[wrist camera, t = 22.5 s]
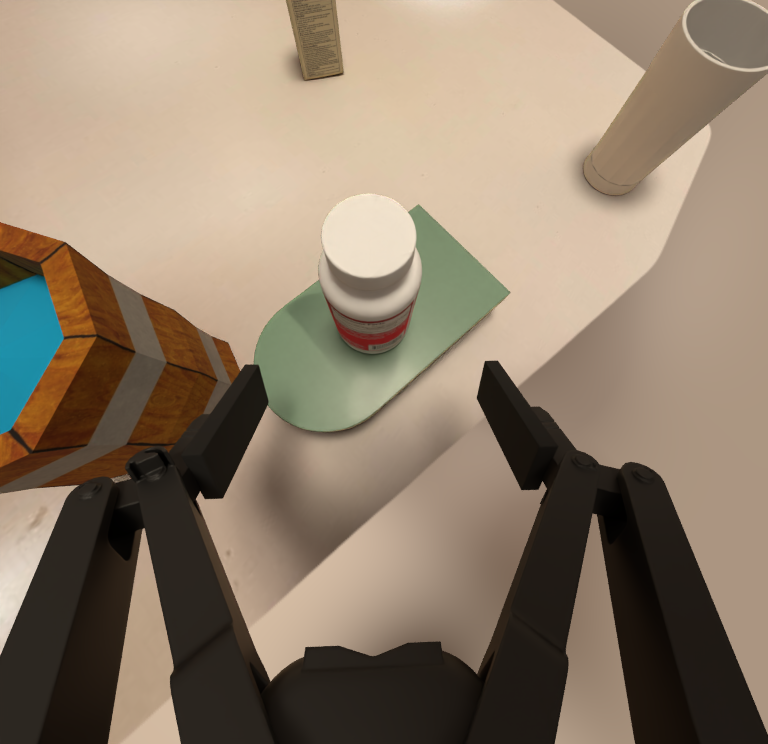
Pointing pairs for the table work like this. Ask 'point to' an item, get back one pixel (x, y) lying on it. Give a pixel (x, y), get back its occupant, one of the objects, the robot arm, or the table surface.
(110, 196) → the table surface
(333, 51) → the small juice carton
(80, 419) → the mug
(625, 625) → the robot arm
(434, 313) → the green rounded-end slab
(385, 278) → the pill bottle
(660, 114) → the cup
